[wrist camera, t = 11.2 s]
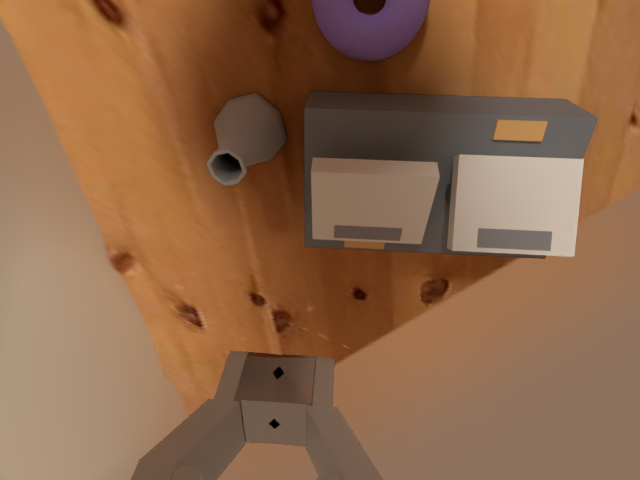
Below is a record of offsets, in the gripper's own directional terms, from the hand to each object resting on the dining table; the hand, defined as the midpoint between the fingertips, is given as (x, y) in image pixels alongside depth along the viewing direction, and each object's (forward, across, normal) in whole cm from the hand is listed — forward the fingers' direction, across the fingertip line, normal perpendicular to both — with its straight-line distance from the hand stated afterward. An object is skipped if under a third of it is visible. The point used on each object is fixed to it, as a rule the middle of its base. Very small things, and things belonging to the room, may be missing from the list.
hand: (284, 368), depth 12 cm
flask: (+33, +8, +4) cm, 35 cm away
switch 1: (+25, -4, +7) cm, 26 cm away
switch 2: (+25, -16, +7) cm, 30 cm away
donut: (+34, -3, -8) cm, 35 cm away
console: (+33, -10, +7) cm, 35 cm away
